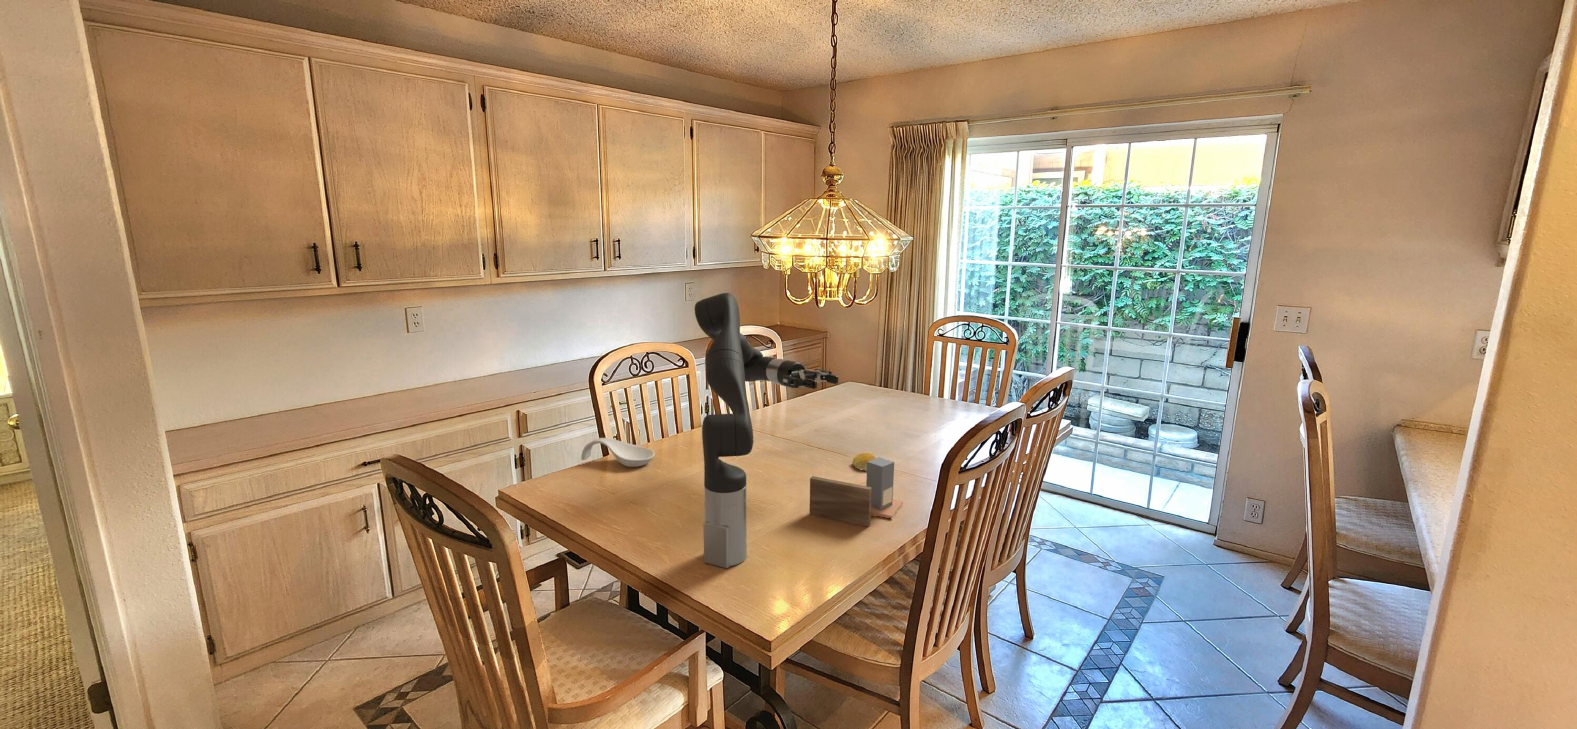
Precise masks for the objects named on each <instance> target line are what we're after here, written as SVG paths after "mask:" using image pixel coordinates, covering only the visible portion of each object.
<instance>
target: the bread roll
mask: <svg viewBox="0 0 1577 729" xmlns="http://www.w3.org/2000/svg"><path fill="white" fill-rule="evenodd" d="M875 458H876V457H875V456H874V455H873V454H872V453H869V452H862V453H859V454H857V455H856V456H855V457H854V458H853V460H852V466H853V467H854V466H855V467H854V468H855V469H856V468H858V469H862V470H867V462H868V461H870V460H873V459H875ZM858 469H857V470H858Z"/></svg>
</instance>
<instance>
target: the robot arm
mask: <svg viewBox="0 0 1577 729" xmlns="http://www.w3.org/2000/svg"><path fill="white" fill-rule="evenodd" d="M740 313H741V312H740V308H739V304H738V301H737V298H736V297H735V296H734V295H733V294H732V293H730V292H722V293H719V294H716V295H712V296H709V297H705V298H703V299H701V300H699V301H696V303H695V305H694V315H695V318H696V321H697V324H698V326H699V327H700V329H701V330H702V332H703V333H704V334H705V335H707V336H708V337H709V338H711V340H712V341H713V342H712V343H711V345H710V346H709V348H708V350H707V352H706V354H705V358H704V359H705V360H704V366H705V369H704V371H705V379H706V382H707V384H708V386H709V387H710V389H711V390H712V391H713V392H714V393H715V394H716V395H717V397H719V399H720V400H722V401H723V402H724V403H725V404H726V405H727V406H728V407H729V409H730V410H731V413H718V414H717V413H714V414H713V413H712V414H711V413H710V414H707V415H706V416H705V417H704V418H703V420H702V425H701V437H702V438H701V439H702V451H703V452H702V453H703V463H704V464H703V472H704V477H703V480H704V481H703V482H704V483H703V484H704V486H703V490H704V491H703V492H704V522H703V523H702V526H703V527H702V530H703V532H702V533H703V536H702V538H703V562H704V563H706V564H709V565H712V566H717V567H721V568H723V569H729V568H730V567H732V566H736V565H739V564H741V563H742V562H744V561H745V560H746V559H747V556H748V555H747V553H748V551H747V549H748V544H747V542H748V541H747V537H748V536H747V534H748V533H747V527H748V526H747V473H746V472H745V470H744V469H742V468H741V467H739V466H736V465H732V464H729V463H727V462H725V461H723V460H721V458H727V457H728V458H729V457H741V456H743V457H744V456H747V455H749V454H751V452H752V450H753V448H754V431H753V424H752V418H751V413H750V408H749V404H748V398H747V391H746V390H747V389H746V382H757V381H767V382H771V383H773V384H775V385H780V386H783V387H787V388H791V389H798V388H799V389H800V387H801V388H809V389H813V390H816V389H817V388H818V384H820V383H821V382H822V383H830V384H835V385H837V384H839V376H838V375H834V374H833V372H832V371H830V370H825V369H819V368H814V370H813V369H809V368H807V369H806V368H805V366H804V365H803V363H801V362H799V361H794V360H789V359H784V358H776V357H770V356H764V354H763V353H762V352H761V350H758V349H757V348H755V347H753V346H751V344H750V342H749V341H748V339H747V338H746V336H745V335H744V334H742V332H741V318H740V317H741V314H740Z"/></svg>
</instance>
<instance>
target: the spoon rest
mask: <svg viewBox="0 0 1577 729" xmlns="http://www.w3.org/2000/svg"><path fill="white" fill-rule="evenodd" d="M597 444H601V445H604V446H606V448H607V449H608V450H609V451H610V453H611V454H612V456H614V457H615V459H616V460H617V461H618V462H619V463H620V464H621V465H623V466H625V467H627V468H637V467H642V466H645V465H647V464H648V463H650V462H651V461H652V460H653V459H654V457H655V455H656V454H655V451H654V450H653V449H651V448H648V447H645V446H642V445H637V444H632V443H629V442H624V441H621V440H617V439H613V438H608V437H599V438H596V439H593V440H592V441H590V442H588V443H587V444H586V445H585V446H584V448H583V450H582V453H581V458H580V459H581V461H584V460H587V459H589V458H590V457H592V449H593V447H594V445H597Z"/></svg>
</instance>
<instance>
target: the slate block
mask: <svg viewBox="0 0 1577 729" xmlns="http://www.w3.org/2000/svg"><path fill="white" fill-rule="evenodd" d="M894 473H895V461H892V460H890V459H886V458H882V457H880V456H878V457H875V459H873V460H870V461H868V462H867V471H866V480H865V481H866V483H865V485H866V486H867V487H872V495H871V507H873V508H876V509H878V510H883V509H885V508H887V507H889V506H891V505H892V501H893V496H894V479H895V477H894V476H895V474H894Z"/></svg>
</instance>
